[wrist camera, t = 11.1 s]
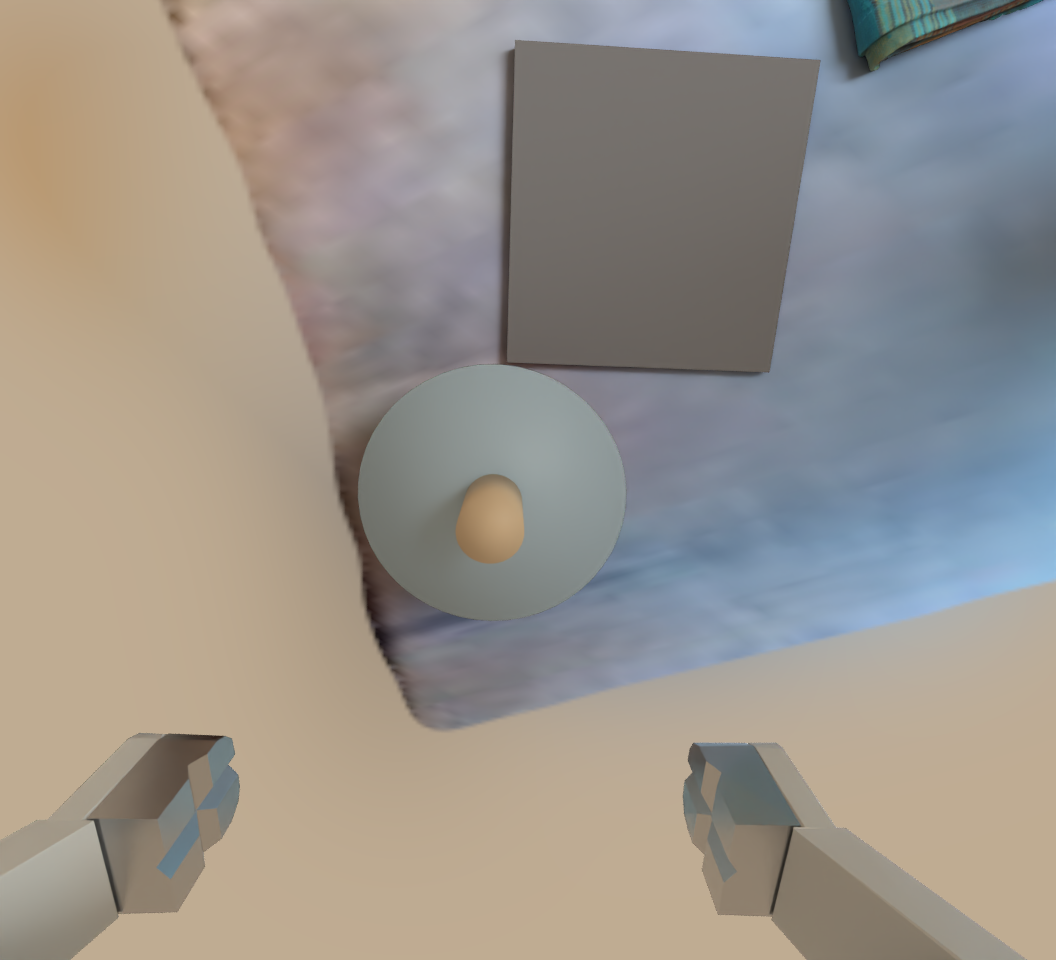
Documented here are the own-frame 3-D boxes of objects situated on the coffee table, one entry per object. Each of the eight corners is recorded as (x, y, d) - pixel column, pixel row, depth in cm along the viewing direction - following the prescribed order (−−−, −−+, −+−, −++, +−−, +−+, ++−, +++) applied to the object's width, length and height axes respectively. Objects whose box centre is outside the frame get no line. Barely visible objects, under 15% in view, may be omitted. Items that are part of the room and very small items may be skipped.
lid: (633, 369, 23) (665, 375, 18) (610, 613, 27) (632, 671, 22) (357, 358, 23) (315, 361, 18) (369, 608, 26) (337, 667, 21)
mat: (813, 67, 25) (820, 60, 24) (764, 371, 28) (769, 372, 28) (514, 47, 24) (515, 40, 23) (506, 361, 28) (506, 362, 27)
